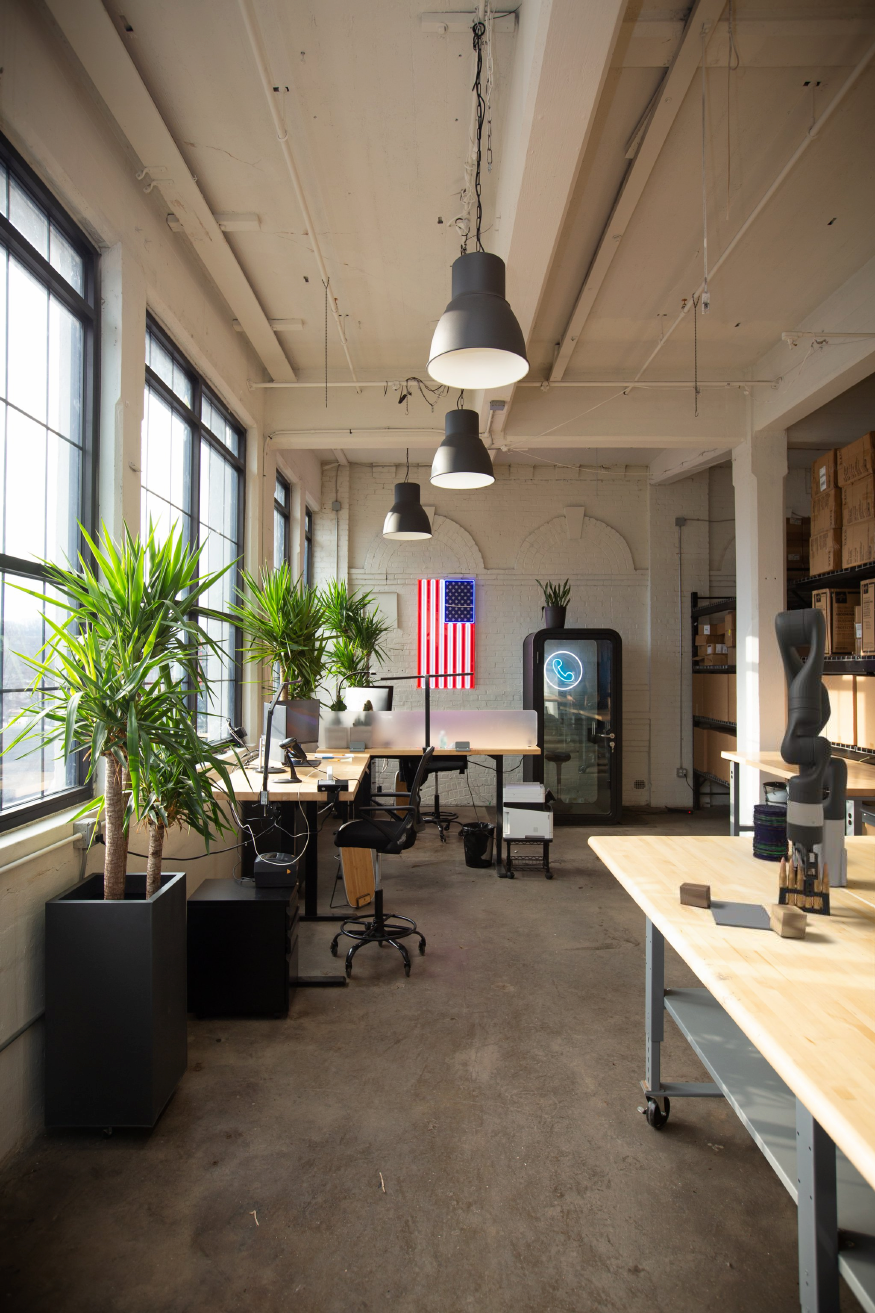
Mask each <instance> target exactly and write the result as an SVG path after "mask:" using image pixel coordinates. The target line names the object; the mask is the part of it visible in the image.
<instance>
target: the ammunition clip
mask: <svg viewBox="0 0 875 1313" xmlns="http://www.w3.org/2000/svg"><path fill="white" fill-rule="evenodd" d="M786 862H787V861H786ZM786 862H785V858H784V857H783V858H782V860H781V862H780V865H779V866H780V868H779V877H778V880H779V881H778V902H777V904H781V905H790V906H796V907H797V908H799V909H800V910H802V911H803V912H804V913H806V914H813V915H821V916H826V917H828V916H829V917H830V916H831V902H830V901H831V900H830V893H831V892H830V890H831V889H830V888H831V886H830V881H829V870H828V865H827V862H825V863H824V867H823V876H822V885H821V878H820V866H819V862H818V880H816V881H815V886H814V897H805V896H804V895H803V875H802V871H801V870H800V869H799V863H798V868H797V876H796V885H795V867H794V861H793V858H792V857H791V858H790V859H789V863H788V864H789V865H788V874H787V863H786ZM808 874H812V873H811V871H808Z"/></svg>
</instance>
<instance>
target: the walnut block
mask: <svg viewBox="0 0 875 1313" xmlns="http://www.w3.org/2000/svg"><path fill="white" fill-rule="evenodd" d="M711 895H712V894H711V885H707V884H700V883H693V882H685V881H684V882H682V884H681V885H680V886H679V903H680V904H682V905H687V906H694V907H701V908H708V907H709V904H710V903H711V900H712V898H711Z"/></svg>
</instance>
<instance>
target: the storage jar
mask: <svg viewBox="0 0 875 1313" xmlns="http://www.w3.org/2000/svg"><path fill="white" fill-rule="evenodd" d="M752 817H753V818H752V819H753V821H752V822H753V825H754V826H753V827H754V828H753V829H754V831H753V837H752V851H753V853H752V856H753V858H755V859H757V860H760V861H767V862H771V863H781V860H782V858H783V857H784V858H785V862H788V861H789V860H790V859H789V852H790V841H789V840H788V839H787V806H782V805H776V804H764V803H763V804H759V803H757V804H754V805H753V814H752Z"/></svg>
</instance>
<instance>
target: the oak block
mask: <svg viewBox="0 0 875 1313" xmlns="http://www.w3.org/2000/svg"><path fill="white" fill-rule="evenodd" d="M807 920H808V913H805V912H803V911H802V910H800V909H799V908H797V907H796V906H790V905H781V904H778V903H771V912H770V927H771V928H772V929H773V930H774V931H775V933H776V934H778V935H779V936H780V937H787V938H798V939H806V931H807V930H806V929H807ZM774 931H773V932H774Z"/></svg>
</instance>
